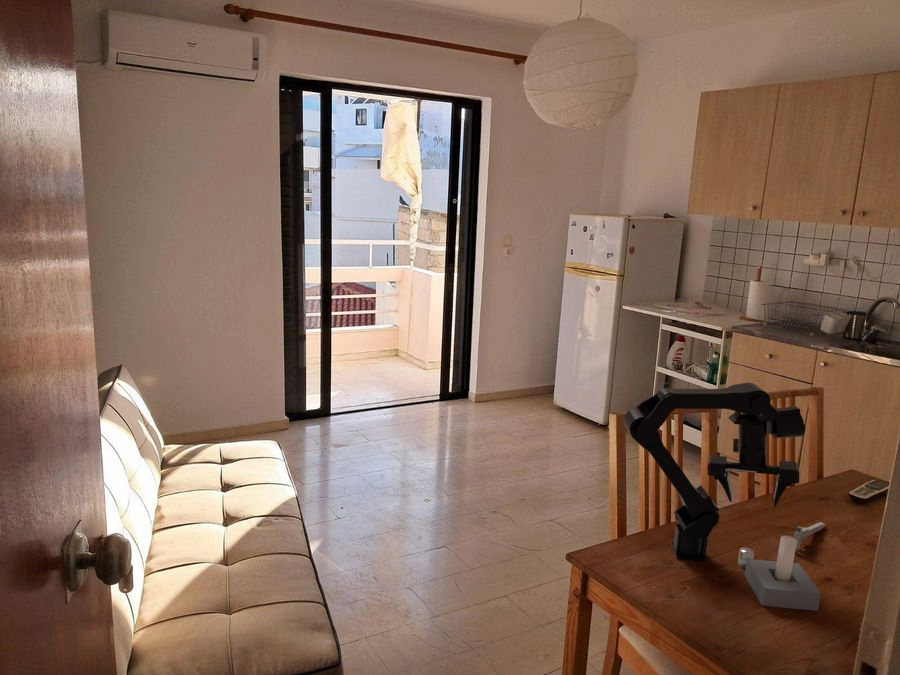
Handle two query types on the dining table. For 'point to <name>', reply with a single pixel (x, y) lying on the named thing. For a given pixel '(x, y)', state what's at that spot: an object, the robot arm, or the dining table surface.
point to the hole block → (782, 586)
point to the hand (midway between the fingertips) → (752, 503)
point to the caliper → (806, 533)
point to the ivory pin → (785, 559)
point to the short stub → (745, 556)
